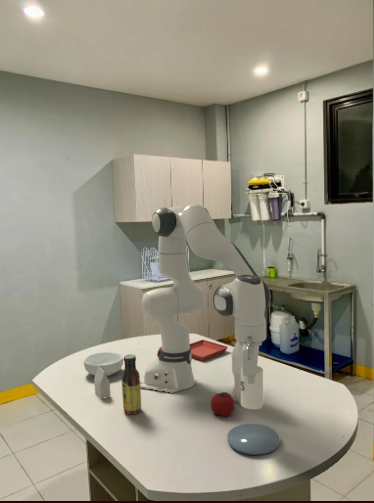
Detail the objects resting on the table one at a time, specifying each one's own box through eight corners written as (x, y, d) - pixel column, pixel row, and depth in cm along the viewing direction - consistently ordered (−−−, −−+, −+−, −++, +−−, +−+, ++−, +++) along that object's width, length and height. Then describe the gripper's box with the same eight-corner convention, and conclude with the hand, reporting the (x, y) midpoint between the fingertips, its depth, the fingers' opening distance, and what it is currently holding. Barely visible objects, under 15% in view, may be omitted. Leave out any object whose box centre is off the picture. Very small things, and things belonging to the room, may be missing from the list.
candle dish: (224, 454, 113) (224, 449, 112) (230, 426, 127) (230, 422, 127) (279, 459, 109) (279, 453, 109) (279, 430, 124) (279, 425, 124)
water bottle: (254, 397, 147) (252, 330, 145) (251, 406, 140) (249, 336, 138) (235, 395, 149) (233, 329, 147) (230, 404, 142) (228, 334, 140)
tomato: (233, 419, 132) (233, 398, 131) (209, 418, 133) (208, 397, 132) (235, 408, 139) (234, 387, 139) (212, 407, 141) (211, 387, 140)
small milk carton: (101, 399, 150) (99, 373, 149) (95, 393, 156) (93, 368, 155) (110, 396, 152) (109, 371, 151) (104, 390, 158) (102, 365, 157)
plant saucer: (202, 363, 184) (202, 356, 183) (176, 354, 197) (176, 348, 197) (229, 353, 196) (229, 346, 195) (202, 345, 209) (202, 339, 209)
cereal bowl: (111, 383, 164) (110, 366, 164) (76, 379, 170) (75, 363, 169) (130, 368, 180) (129, 352, 180) (98, 365, 186) (97, 350, 185)
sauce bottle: (124, 407, 143) (121, 353, 141) (141, 406, 143) (139, 351, 142) (122, 416, 136) (119, 359, 135) (141, 415, 137) (138, 358, 135)
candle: (235, 402, 119) (236, 352, 117) (254, 397, 121) (254, 349, 120) (248, 411, 113) (248, 359, 112) (267, 406, 116) (267, 355, 115)
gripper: (260, 344, 105) (262, 395, 106) (262, 323, 125) (263, 366, 126) (236, 343, 106) (237, 394, 107) (241, 322, 126) (242, 365, 127)
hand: (251, 379), depth 117 cm, fingers closed on candle, 4 cm apart
